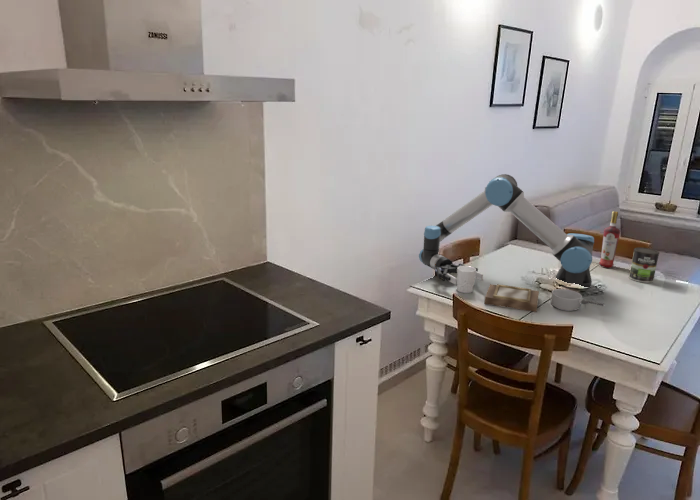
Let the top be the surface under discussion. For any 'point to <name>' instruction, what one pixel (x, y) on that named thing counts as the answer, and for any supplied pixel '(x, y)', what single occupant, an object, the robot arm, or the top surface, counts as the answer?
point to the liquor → (610, 243)
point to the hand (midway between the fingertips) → (469, 279)
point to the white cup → (465, 278)
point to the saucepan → (568, 300)
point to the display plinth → (512, 297)
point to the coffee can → (644, 265)
